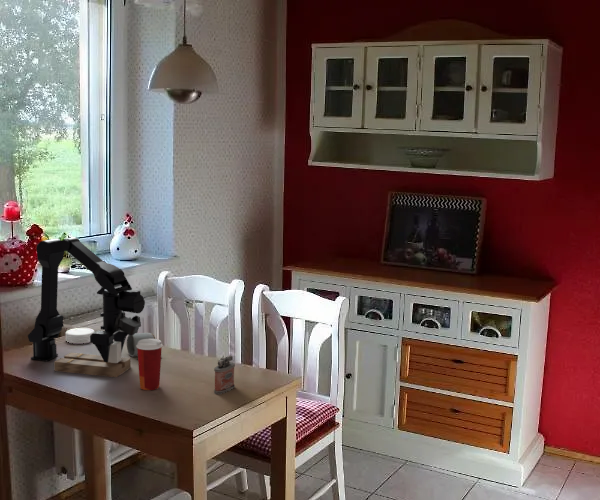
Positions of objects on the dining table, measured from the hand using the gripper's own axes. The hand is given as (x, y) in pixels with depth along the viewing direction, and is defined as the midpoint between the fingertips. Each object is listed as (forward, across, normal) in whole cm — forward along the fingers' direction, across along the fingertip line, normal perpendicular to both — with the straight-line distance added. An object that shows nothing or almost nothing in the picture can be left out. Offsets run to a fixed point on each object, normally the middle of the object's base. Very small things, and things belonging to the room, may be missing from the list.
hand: (113, 357), depth 234 cm
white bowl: (+5, +28, +26) cm, 39 cm away
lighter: (+5, -6, -39) cm, 39 cm away
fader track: (+4, 0, +7) cm, 8 cm away
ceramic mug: (+5, +20, 0) cm, 20 cm away
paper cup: (+5, -10, -17) cm, 20 cm away
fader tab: (+3, 0, 0) cm, 3 cm away
